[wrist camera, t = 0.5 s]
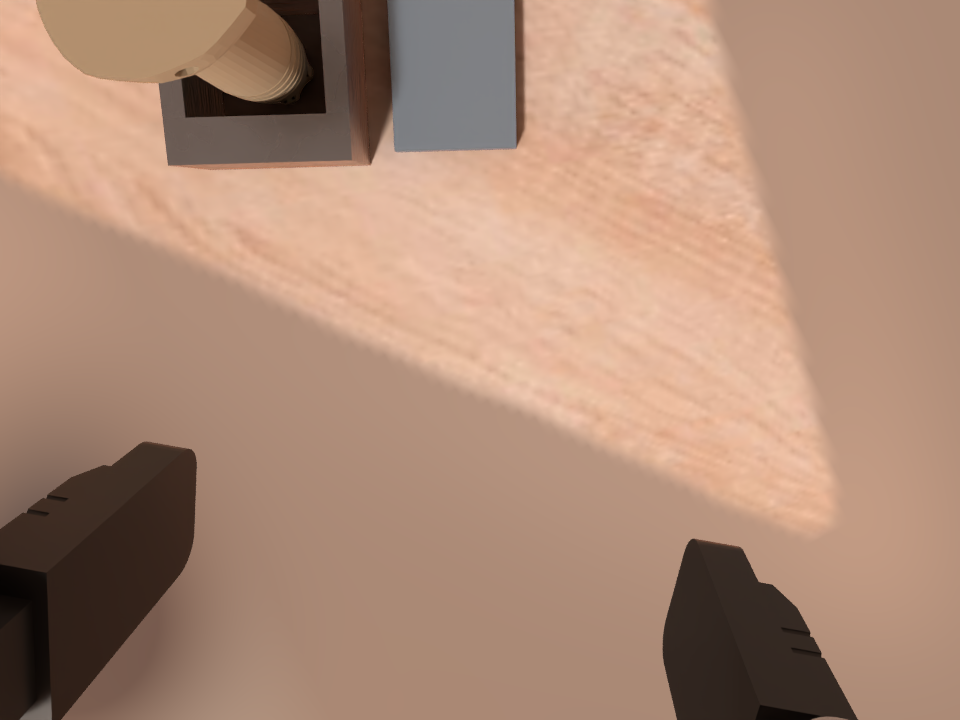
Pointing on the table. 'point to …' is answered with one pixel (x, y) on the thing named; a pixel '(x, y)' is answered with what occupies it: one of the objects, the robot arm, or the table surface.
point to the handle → (182, 44)
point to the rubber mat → (452, 74)
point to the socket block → (278, 138)
